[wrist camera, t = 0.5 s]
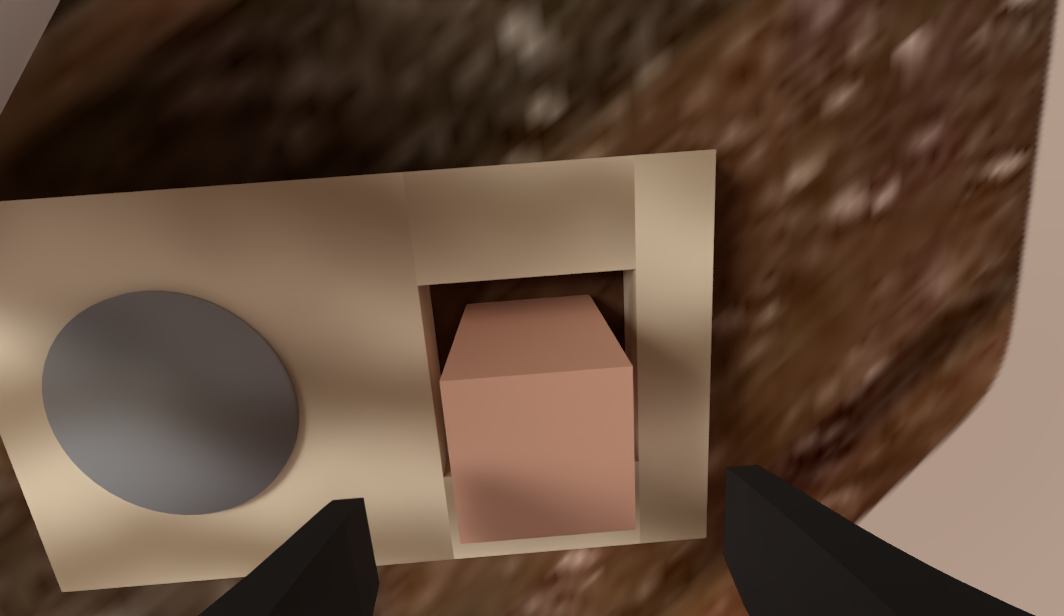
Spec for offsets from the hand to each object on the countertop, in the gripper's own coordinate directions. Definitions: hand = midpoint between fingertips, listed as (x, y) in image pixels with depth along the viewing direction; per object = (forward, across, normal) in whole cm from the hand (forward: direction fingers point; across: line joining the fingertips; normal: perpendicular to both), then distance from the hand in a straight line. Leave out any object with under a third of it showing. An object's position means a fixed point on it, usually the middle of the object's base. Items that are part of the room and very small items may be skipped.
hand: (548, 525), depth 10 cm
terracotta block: (+9, 0, 0) cm, 9 cm away
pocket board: (+9, +6, 0) cm, 11 cm away
